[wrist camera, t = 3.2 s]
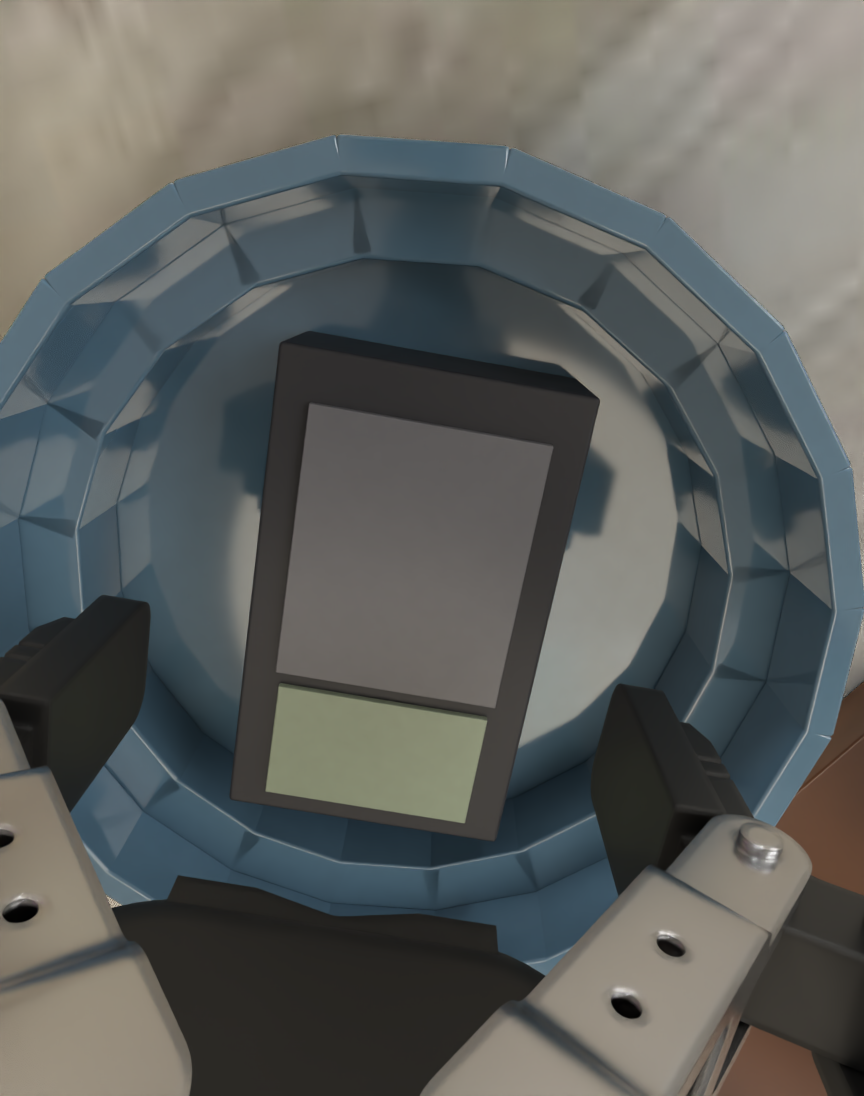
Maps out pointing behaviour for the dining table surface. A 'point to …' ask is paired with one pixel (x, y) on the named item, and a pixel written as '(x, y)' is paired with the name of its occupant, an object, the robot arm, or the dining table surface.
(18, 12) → the dining table surface
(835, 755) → the board
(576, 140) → the dining table surface
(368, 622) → the calculator
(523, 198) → the bowl
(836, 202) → the dining table surface
